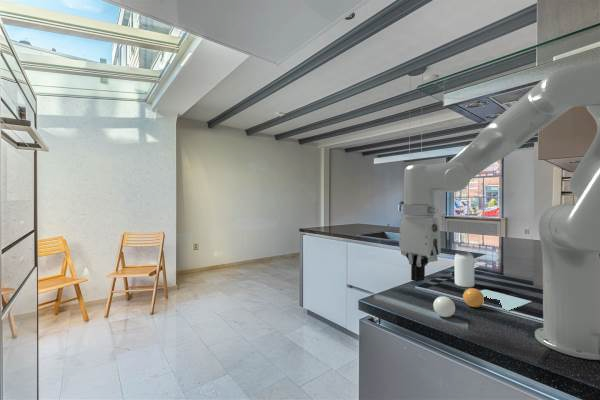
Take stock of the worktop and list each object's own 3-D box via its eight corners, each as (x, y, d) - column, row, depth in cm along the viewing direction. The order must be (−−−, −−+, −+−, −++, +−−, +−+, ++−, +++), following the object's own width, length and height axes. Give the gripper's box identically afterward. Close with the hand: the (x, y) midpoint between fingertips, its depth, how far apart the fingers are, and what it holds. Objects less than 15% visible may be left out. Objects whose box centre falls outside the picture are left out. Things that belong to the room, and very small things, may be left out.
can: (477, 288, 104) (476, 255, 104) (458, 287, 105) (457, 255, 105) (470, 283, 110) (470, 252, 110) (452, 282, 111) (451, 251, 111)
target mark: (531, 302, 90) (531, 301, 90) (508, 311, 83) (508, 310, 83) (485, 289, 102) (485, 289, 102) (461, 296, 95) (461, 296, 95)
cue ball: (459, 317, 79) (459, 298, 79) (447, 322, 76) (446, 301, 76) (441, 311, 84) (441, 292, 84) (429, 315, 81) (428, 295, 81)
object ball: (488, 307, 86) (488, 289, 86) (477, 311, 83) (477, 292, 83) (470, 302, 91) (469, 284, 90) (459, 305, 88) (459, 287, 88)
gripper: (454, 212, 71) (453, 286, 71) (406, 209, 84) (405, 271, 84) (434, 213, 67) (433, 290, 67) (387, 210, 80) (386, 274, 81)
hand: (417, 280), depth 76 cm, fingers closed
